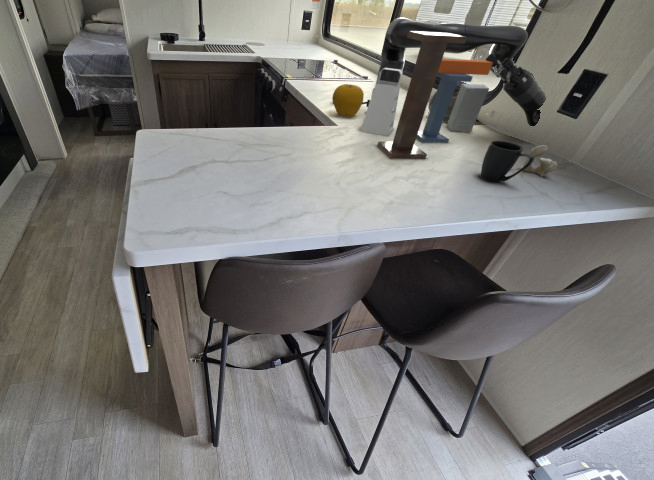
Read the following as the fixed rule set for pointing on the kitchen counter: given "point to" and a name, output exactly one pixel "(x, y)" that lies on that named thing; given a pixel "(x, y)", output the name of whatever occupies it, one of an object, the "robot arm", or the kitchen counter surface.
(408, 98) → the tall stand
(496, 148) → the mug
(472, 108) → the cosmetic box
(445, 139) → the lower shelf
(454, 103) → the bowl
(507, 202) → the kitchen counter surface
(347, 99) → the apple
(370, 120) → the grater
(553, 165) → the bone
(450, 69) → the orange wooden plank
